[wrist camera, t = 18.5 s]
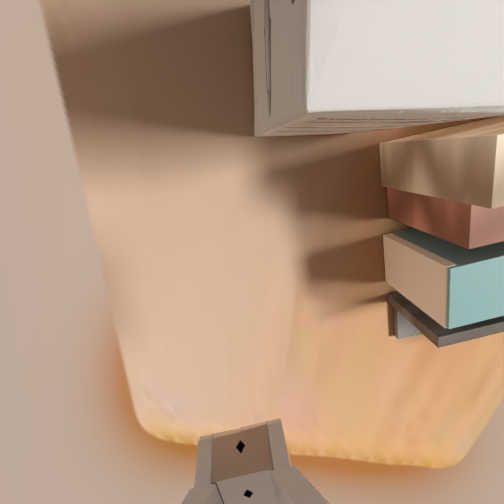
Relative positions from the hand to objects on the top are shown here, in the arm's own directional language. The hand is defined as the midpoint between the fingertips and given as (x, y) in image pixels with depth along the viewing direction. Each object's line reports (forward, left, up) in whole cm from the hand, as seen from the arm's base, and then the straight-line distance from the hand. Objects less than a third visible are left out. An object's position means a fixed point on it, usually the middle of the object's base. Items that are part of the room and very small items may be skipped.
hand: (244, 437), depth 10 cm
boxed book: (+1, +17, -13) cm, 21 cm away
